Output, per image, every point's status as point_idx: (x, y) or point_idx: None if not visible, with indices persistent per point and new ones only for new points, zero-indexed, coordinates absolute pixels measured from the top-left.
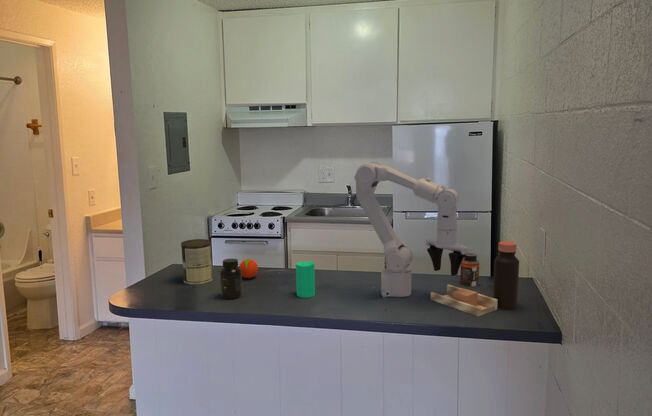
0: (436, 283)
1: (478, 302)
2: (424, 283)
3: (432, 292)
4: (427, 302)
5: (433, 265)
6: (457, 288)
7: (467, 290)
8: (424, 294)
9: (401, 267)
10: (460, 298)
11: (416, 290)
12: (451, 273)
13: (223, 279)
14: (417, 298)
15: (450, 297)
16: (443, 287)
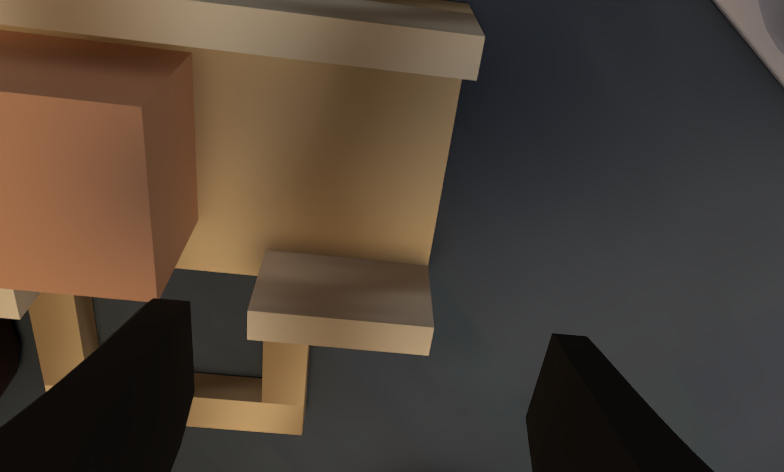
0: None
1: None
2: (776, 407)
3: (471, 62)
4: (511, 7)
5: (628, 392)
6: (283, 313)
7: (69, 267)
8: (655, 190)
9: None
10: (30, 70)
11: (775, 230)
12: (163, 315)
13: None
14: (667, 38)
15: (350, 219)
16: None
